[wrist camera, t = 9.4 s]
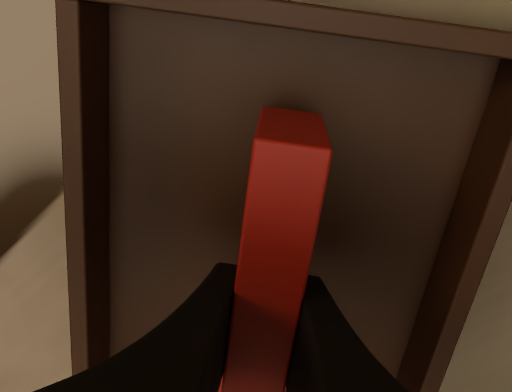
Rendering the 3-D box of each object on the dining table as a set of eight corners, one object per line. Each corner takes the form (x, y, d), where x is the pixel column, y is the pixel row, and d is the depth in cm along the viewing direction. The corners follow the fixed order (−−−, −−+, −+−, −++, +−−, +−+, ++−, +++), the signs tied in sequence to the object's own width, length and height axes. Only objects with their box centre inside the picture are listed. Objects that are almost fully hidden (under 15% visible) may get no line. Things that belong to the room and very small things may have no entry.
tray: (380, 456, 19) (391, 514, 17) (99, 414, 19) (75, 466, 17) (524, 34, 13) (574, 40, 10) (93, -26, 13) (52, -32, 11)
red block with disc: (209, 97, 12) (183, 127, 9) (376, 120, 12) (405, 159, 9) (181, 424, 17) (158, 514, 14) (300, 442, 16) (303, 537, 14)
